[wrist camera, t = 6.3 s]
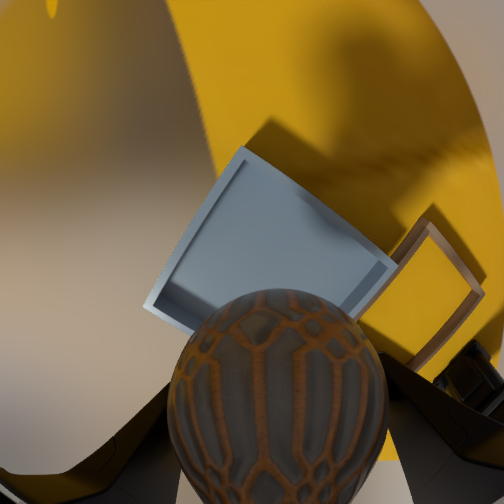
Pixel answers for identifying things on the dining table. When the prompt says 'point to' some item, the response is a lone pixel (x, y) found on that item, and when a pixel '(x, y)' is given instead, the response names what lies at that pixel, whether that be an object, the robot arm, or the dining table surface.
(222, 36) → the dining table surface
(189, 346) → the vase
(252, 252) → the slate tray
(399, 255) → the walnut frame
